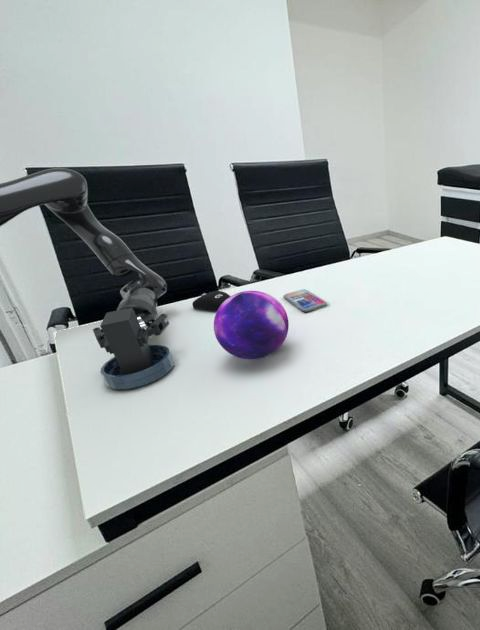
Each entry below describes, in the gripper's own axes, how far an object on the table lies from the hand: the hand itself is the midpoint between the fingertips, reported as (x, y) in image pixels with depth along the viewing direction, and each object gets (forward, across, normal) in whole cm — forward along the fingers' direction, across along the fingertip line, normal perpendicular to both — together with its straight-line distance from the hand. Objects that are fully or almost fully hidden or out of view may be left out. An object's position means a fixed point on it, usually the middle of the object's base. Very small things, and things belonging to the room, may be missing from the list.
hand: (126, 345), depth 77 cm
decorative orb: (+3, +23, +8) cm, 25 cm away
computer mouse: (-32, +15, +9) cm, 37 cm away
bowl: (-3, 0, +8) cm, 9 cm away
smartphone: (-21, +39, +8) cm, 45 cm away
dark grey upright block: (-3, 0, +6) cm, 7 cm away
